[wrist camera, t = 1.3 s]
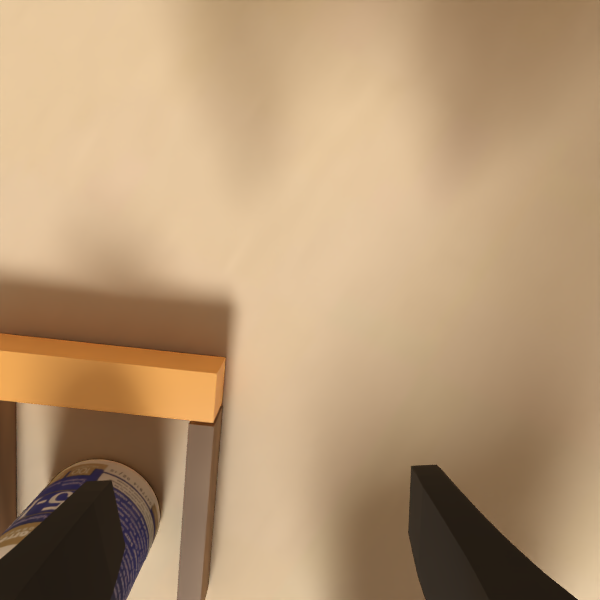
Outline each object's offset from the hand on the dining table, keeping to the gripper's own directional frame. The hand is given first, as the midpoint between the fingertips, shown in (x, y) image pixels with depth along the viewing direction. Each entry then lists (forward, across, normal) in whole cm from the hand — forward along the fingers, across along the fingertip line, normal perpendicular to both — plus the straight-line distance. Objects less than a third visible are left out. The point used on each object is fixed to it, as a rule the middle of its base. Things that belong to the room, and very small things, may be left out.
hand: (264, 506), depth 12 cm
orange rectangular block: (+10, +7, +1) cm, 12 cm away
